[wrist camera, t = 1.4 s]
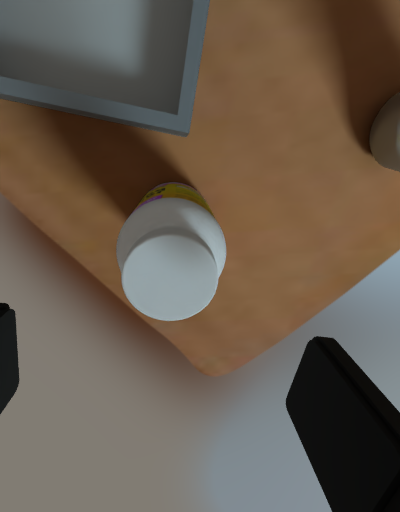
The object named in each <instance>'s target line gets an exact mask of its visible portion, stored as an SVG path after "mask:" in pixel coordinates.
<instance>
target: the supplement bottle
mask: <svg viewBox="0 0 400 512" xmlns="http://www.w3.org/2000/svg"><path fill="white" fill-rule="evenodd" d="M116 252H117V261H118V265H119V268H120V270H121V272H122V276H121V279H122V286H123V289H124V292H125V295H126V297H127V298H128V300H129V301H130V302H131V304H132V305H133V306H134V307H135V308H136V309H138V310H139V311H140V312H142V313H143V314H145V315H147V316H149V317H152V318H155V319H159V320H166V321H174V320H181V319H185V318H188V317H191V316H193V315H195V314H197V313H198V312H200V311H201V310H202V309H203V308H205V307H206V306H207V305H208V304H209V302H210V301H211V299H212V298H213V296H214V294H215V291H216V288H217V285H218V278H219V276H220V274H221V272H222V270H223V267H224V264H225V259H226V243H225V238H224V235H223V232H222V230H221V228H220V226H219V224H218V222H217V220H216V219H215V217H214V215H213V213H212V211H211V209H210V208H209V206H208V204H207V202H206V201H205V199H204V198H203V196H202V195H201V194H200V193H199V192H198V191H197V190H195V189H194V188H192V187H190V186H188V185H186V184H183V183H177V182H169V183H164V184H161V185H158V186H156V187H154V188H153V189H151V190H150V191H149V192H148V193H147V194H146V195H145V196H144V197H143V198H142V200H141V201H140V203H139V204H138V205H137V206H136V208H135V209H134V211H133V212H132V214H131V215H130V216H129V217H128V219H127V220H126V222H125V223H124V225H123V227H122V228H121V231H120V233H119V236H118V240H117V248H116Z"/></svg>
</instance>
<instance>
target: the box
mask: <svg viewBox="0 0 400 512" xmlns="http://www.w3.org/2000/svg"><path fill="white" fill-rule="evenodd" d="M209 2H210V0H0V98H1V99H5V100H10V101H15V102H20V103H24V104H29V105H34V106H39V107H43V108H48V109H53V110H58V111H63V112H67V113H72V114H77V115H82V116H86V117H91V118H96V119H101V120H106V121H110V122H115V123H120V124H125V125H129V126H134V127H139V128H144V129H149V130H153V131H158V132H163V133H168V134H172V135H177V136H182V137H187V136H188V134H189V130H190V124H191V117H192V111H193V105H194V98H195V92H196V85H197V79H198V73H199V66H200V60H201V53H202V47H203V40H204V34H205V28H206V21H207V15H208V8H209Z"/></svg>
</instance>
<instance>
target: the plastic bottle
mask: <svg viewBox="0 0 400 512" xmlns="http://www.w3.org/2000/svg"><path fill="white" fill-rule="evenodd" d="M369 143H370V148H371V152H372V154H373V156H374V158H375V160H376V161H377V162H378V163H379V164H380V165H382V166H383V167H386V168H389V169H392V170H395V171H399V172H400V92H398V93H397V94H395V95H394V96H393V97H391V98H390V99H389V100H388V101H387V102H386V103H385V105H384V106H383V107H382V108H381V110H380V111H379V113H378V115H377V116H376V118H375V120H374V122H373V124H372V127H371V131H370V137H369Z"/></svg>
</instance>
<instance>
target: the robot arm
mask: <svg viewBox="0 0 400 512" xmlns="http://www.w3.org/2000/svg"><path fill="white" fill-rule="evenodd" d="M18 384H19V368H18V351H17V335H16V318H15V311H14V310H13V309H10V307H9V305H8V304H6V303H0V414H1V413H2V411H3V410H4V408H5V407H6V405H7V404H8V402H9V401H10V400H11V398H12V397H13V395H14V393H15V392H16V390H17V387H18ZM286 408H287V411H288V413H289V415H290V418H291V420H292V422H293V424H294V427H295V429H296V431H297V433H298V435H299V438H300V440H301V442H302V444H303V447H304V449H305V451H306V454H307V456H308V458H309V460H310V462H311V465H312V467H313V469H314V472H315V474H316V476H317V478H318V481H319V483H320V485H321V487H322V489H323V492H324V494H325V496H326V499H327V501H328V503H329V505H330V508H331V510H332V512H400V412H399V411H398V410H397V409H396V408H395V407H394V406H393V404H392V403H391V402H390V401H389V400H388V399H387V398H386V397H385V395H384V394H383V393H382V392H381V391H380V390H379V389H378V387H377V386H376V385H375V384H374V383H373V382H372V381H371V380H370V378H369V377H368V376H367V375H366V374H365V373H364V372H363V371H362V369H361V368H360V367H359V366H358V365H357V364H356V363H355V362H354V360H353V359H352V358H351V357H350V356H349V355H348V354H347V352H346V351H345V350H344V349H343V348H342V347H341V346H340V345H339V343H338V342H337V341H336V340H335V339H333V338H328V337H318V336H317V337H314V338H313V339H312V340H310V341H309V342H308V344H307V346H306V349H305V351H304V354H303V356H302V359H301V362H300V364H299V367H298V369H297V372H296V374H295V377H294V380H293V382H292V385H291V388H290V390H289V392H288V395H287V398H286Z"/></svg>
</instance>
